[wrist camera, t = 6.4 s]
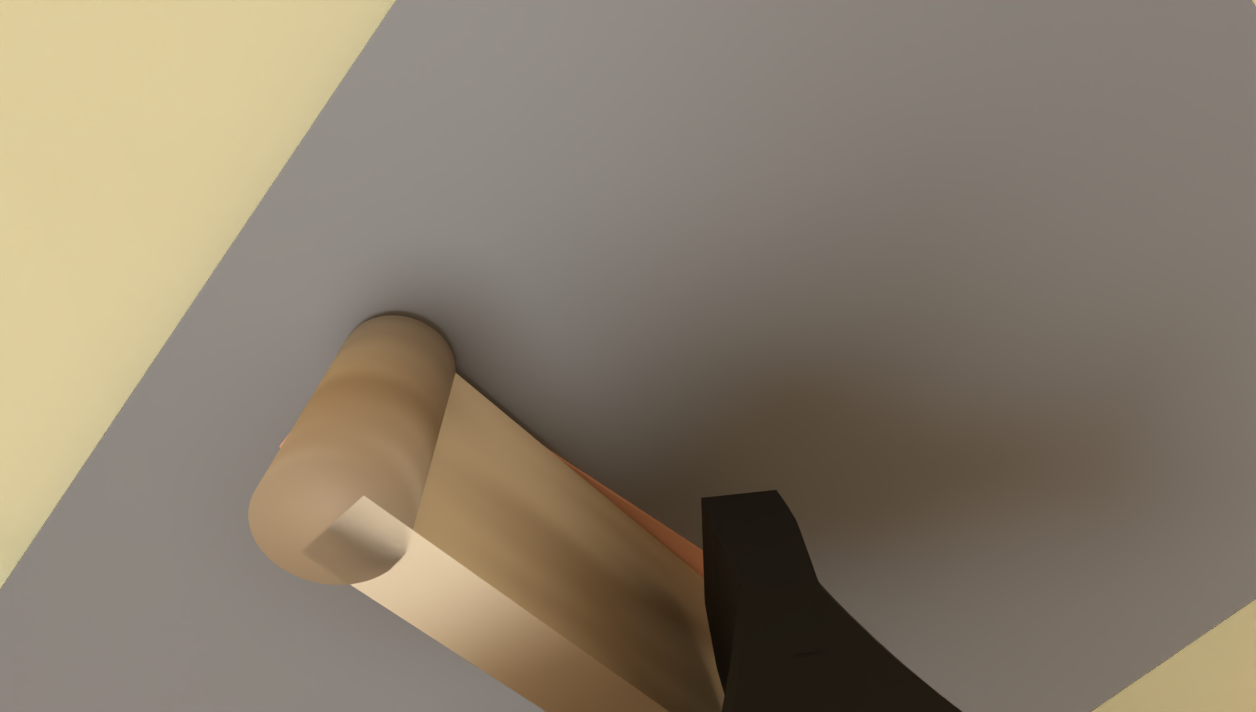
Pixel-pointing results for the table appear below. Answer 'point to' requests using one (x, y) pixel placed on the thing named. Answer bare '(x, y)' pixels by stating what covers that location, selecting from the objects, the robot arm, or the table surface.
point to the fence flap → (480, 535)
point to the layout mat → (727, 338)
